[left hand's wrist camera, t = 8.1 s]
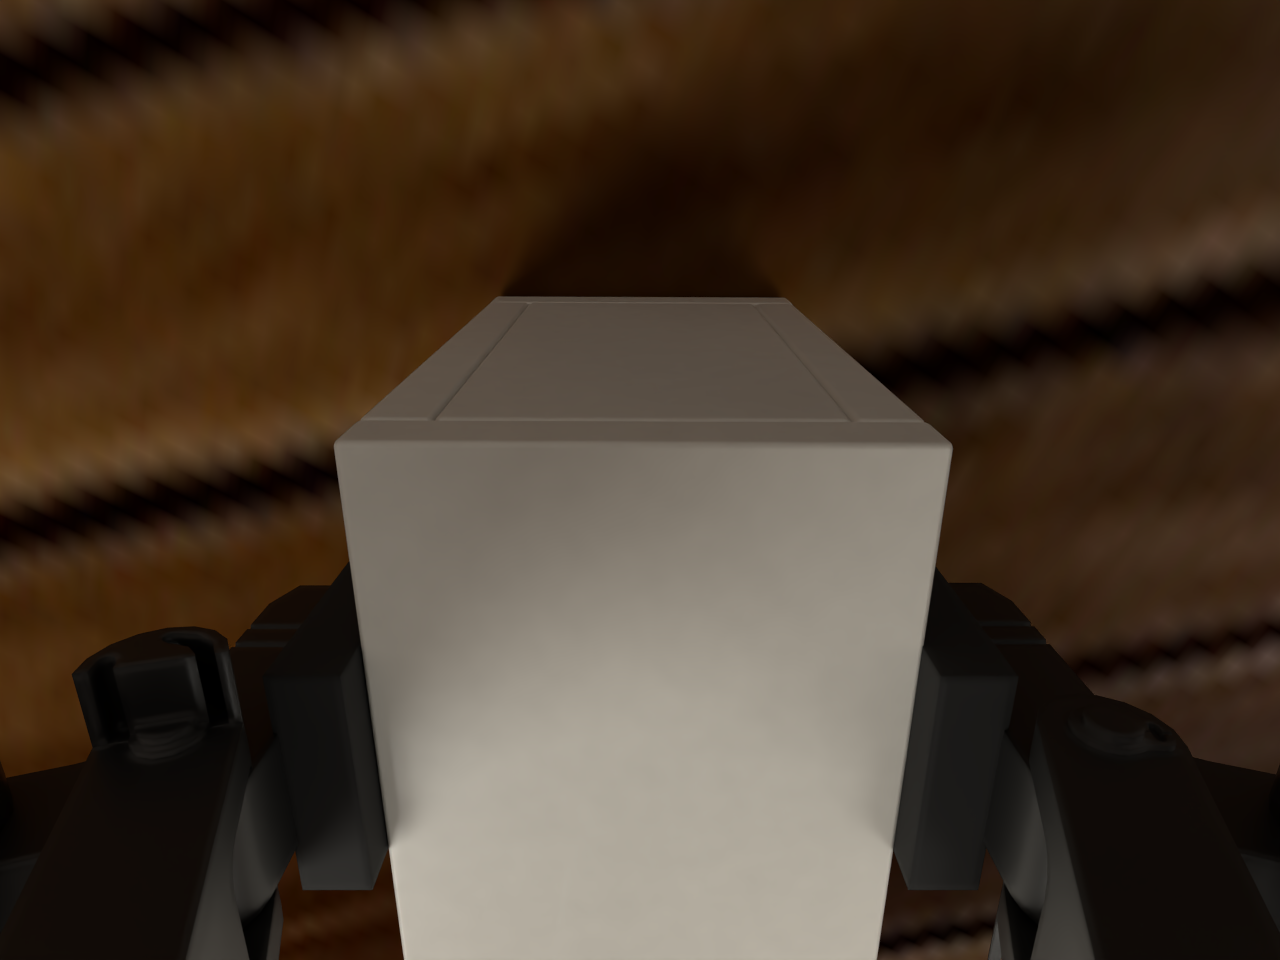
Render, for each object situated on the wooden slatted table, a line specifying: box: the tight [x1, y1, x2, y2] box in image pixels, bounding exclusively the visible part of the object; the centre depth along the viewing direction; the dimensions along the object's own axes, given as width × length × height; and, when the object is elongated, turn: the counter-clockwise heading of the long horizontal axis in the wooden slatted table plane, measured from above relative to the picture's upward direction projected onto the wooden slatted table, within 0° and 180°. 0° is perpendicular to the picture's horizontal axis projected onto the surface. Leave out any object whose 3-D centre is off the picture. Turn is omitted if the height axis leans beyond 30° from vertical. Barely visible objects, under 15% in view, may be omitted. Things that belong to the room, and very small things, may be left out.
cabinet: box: [334, 297, 953, 960], centre depth 16 cm, size 22×6×9 cm, turn 0°
